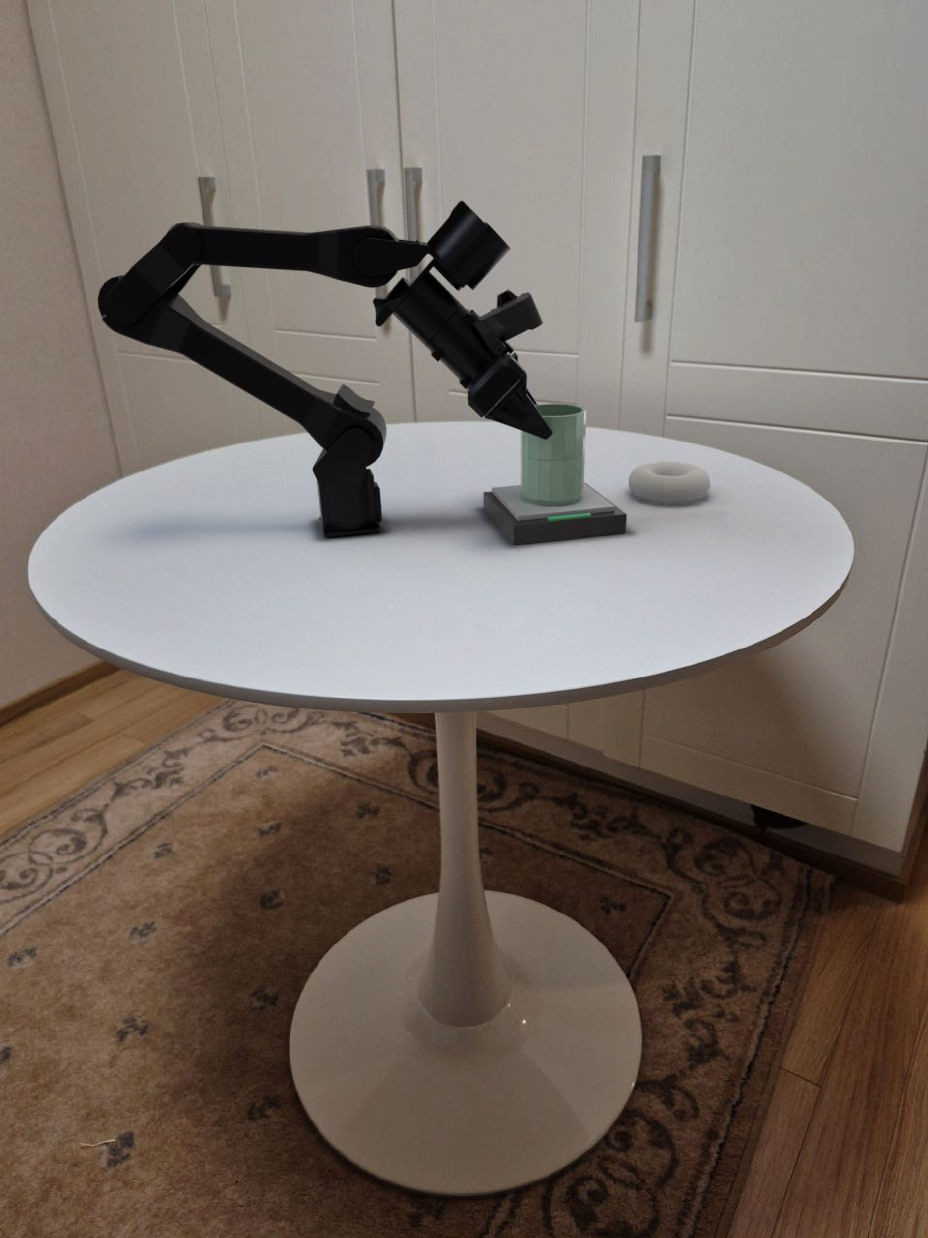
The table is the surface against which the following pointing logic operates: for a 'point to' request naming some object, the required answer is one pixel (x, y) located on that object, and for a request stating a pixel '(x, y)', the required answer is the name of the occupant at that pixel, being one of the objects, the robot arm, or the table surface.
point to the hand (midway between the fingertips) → (545, 426)
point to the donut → (669, 482)
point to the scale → (552, 516)
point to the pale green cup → (554, 457)
